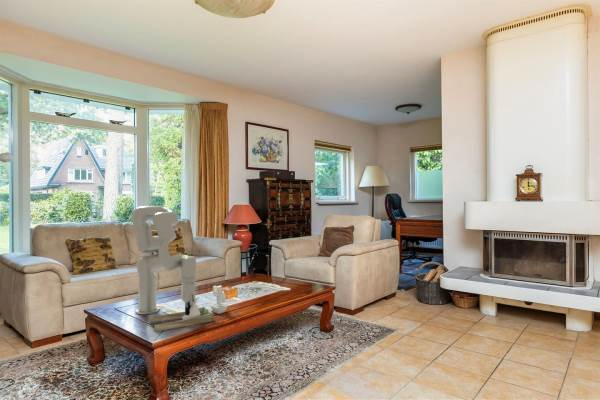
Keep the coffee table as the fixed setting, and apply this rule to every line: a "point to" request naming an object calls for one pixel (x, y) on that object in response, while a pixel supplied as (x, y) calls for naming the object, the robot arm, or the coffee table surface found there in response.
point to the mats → (156, 324)
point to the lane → (199, 319)
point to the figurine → (219, 300)
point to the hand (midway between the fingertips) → (188, 314)
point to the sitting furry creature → (193, 311)
